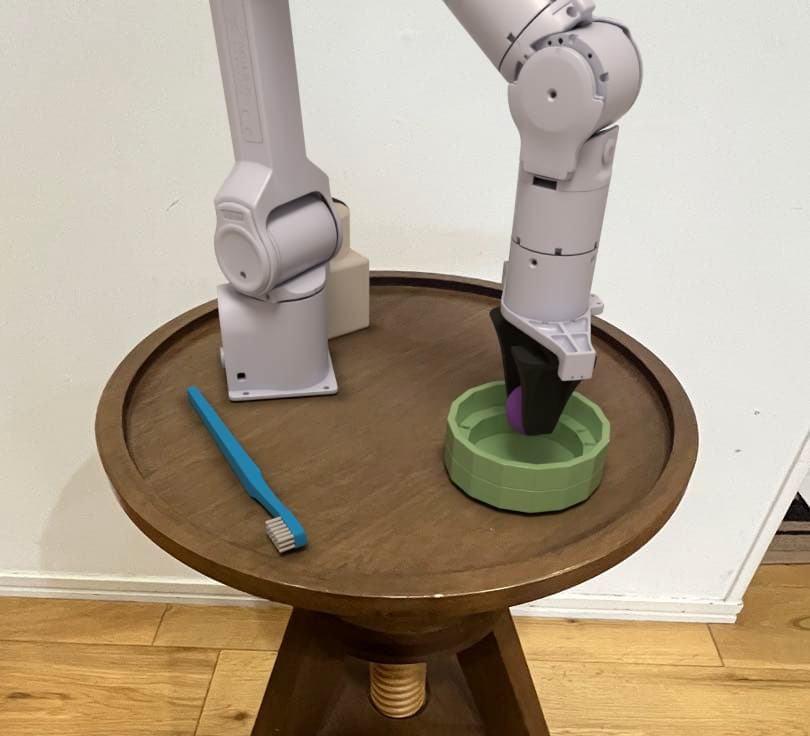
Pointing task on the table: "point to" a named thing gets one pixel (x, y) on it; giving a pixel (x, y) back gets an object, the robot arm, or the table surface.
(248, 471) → the toothbrush
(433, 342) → the table surface
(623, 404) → the table surface
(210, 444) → the table surface
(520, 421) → the ball
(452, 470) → the bowl
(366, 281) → the cylinder-topped cream block
